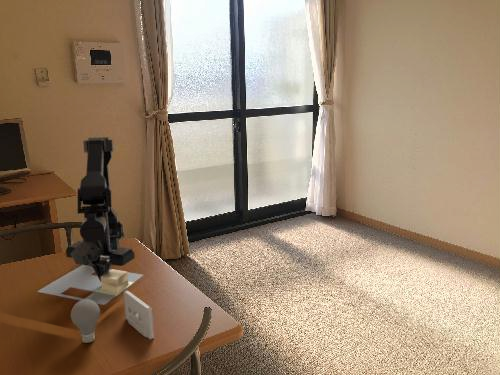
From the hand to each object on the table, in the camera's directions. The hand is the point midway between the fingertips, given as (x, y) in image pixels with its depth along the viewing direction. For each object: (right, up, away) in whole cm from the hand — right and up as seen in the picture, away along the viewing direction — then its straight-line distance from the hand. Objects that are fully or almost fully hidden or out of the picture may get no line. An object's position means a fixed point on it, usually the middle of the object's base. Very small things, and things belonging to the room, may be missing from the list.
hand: (102, 281), depth 117 cm
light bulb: (+5, -9, -22) cm, 24 cm away
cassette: (+15, -7, -18) cm, 24 cm away
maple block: (+4, -1, -1) cm, 4 cm away
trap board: (-3, -2, +2) cm, 4 cm away
